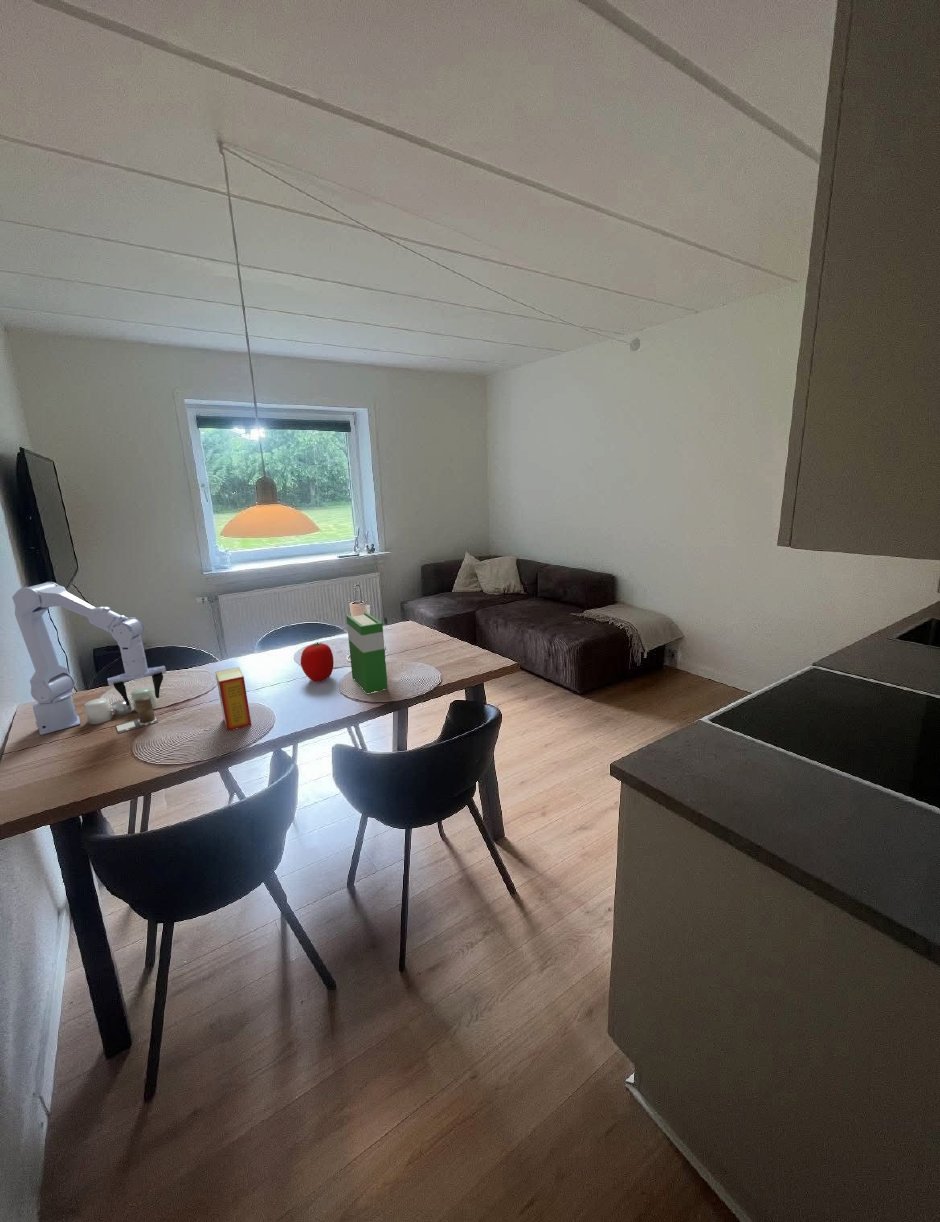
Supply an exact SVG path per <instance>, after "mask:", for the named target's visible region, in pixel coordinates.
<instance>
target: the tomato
mask: <svg viewBox="0 0 940 1222" xmlns="http://www.w3.org/2000/svg"><path fill="white" fill-rule="evenodd" d="M333 654H334V653H333V651H332V649H331V647H330V646H329V645H328V644H325V643H322V642H316V643H312V644H310V645H308V646H306V647H305V648H304V649H303V650H302V653H301V656H300V666H301V670H302V671H303V673H304V674H305V676H306V677H307V678H308V679H309V680H311V681H312V682H316V683H320V682H323V681H326V680H327V679H328V678H330V676H331V675H332V673H333V671H334V655H333Z"/></svg>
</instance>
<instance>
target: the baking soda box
mask: <svg viewBox="0 0 940 1222" xmlns="http://www.w3.org/2000/svg"><path fill="white" fill-rule="evenodd" d="M215 677H216V683H217V688H218V689H217V690H218V694H219V696H218V697H219V701H220V707H221V713H222V717H223V721H224V725H225V727H226V730H227V732H230V731H229V730H231V731H234V730H233V729H235V730H237V729H236V728H238V729H242V728H245V726H246V727H249V726H248V725H250V726H252V719H251V713H250V706H249V701H248V695H247V689H246V681H245V677H244V674H243V672H242V670H241V668H240V667H239V666H237V667H233V668H232V667H231V668H227V669H224V670H217V671H215Z"/></svg>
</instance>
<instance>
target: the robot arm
mask: <svg viewBox="0 0 940 1222" xmlns="http://www.w3.org/2000/svg"><path fill="white" fill-rule="evenodd" d="M12 600H13V603H14V616H15V619H16V622H17V624H18V628H19V630H20V632H21V635H22V637H23V642H24V643H25V647H26V649H27V652H28V654H29V657H30V659H31V662H32V666H33V668H34V673H33V674H32V676H31V678H30V680H29V683H30V695H31V697H32V698H33V700H35V701H36V702H35V703H32V709H33V713H34V717H35V724H36V728H38V731H39V735H41V736H43V735H46V734H50V733H53V732H57V731H61V730H64V729H68V728H72V727H75V726H79V725H81V720H80V715H79V714H77V712H76V708H75V703H74V699H73V696H72V694H73V689H74V688H75V686H76V681H75V679H74V676H72V674H70V672H69V670H68V668H67V667H65V666H62V665H59V661H58V658H57V656H56V652H55V650H54V647H53V644H52V642H51V638H50V636H49V633H48V630H47V627H46V624H45V622H44V619H43V615H44V614H45V613H46V612H47V610H48V609H49V608H53V607H61V608H64V609H66V610H68V611H71V612H73V613H75V614H77V615H81V616H83V617H86V618H87V620H88V622H89V624H91V625H93V626H95V627H97V628H99V629H101V630H104V631H106V632H108V633H110V634H111V636H112V638H113V639H114V640H115V641H116V642H117V646H118V647H119V650H120V654H121V655H120V656H121V660H122V664H123V669H124V673H121V674H118V675H115V676H112V677H108V678H107V683H108V686H109V687H112V686H113V687H114V689H115V690H116V691H117V692H118V693H119V694H120V696H121V697H122V698H123V700H125V702H126V705H127V706H129V705H130V704H129V700H130V699H129V698H128V694H127V693H128V692H127V687H126V685H125V683H126V682H131V681H136V680H141V679H144V678H148V677H151V678H152V684H153V691H154V697H156V698H155V699H159V698H160V691H161V685H162V682H163V680H164V675H163V674H167V670H166V666H165V665H161V666H154V667H148V662H147V658H146V653H145V648H144V647H145V646H144V644H143V643H144V642H143V639H142V634H143V633H144V631H145V626H144V624H143V622H142V621H141V619H138V618H137V617H135V616H134V617H127V616H125V615H121V614H120V613H117V612H115V611H113V610H111V607H109V606H98V607H96V606H93V605H92V604H90V603H89V602H87V601H84V600H83V599H81V598H79V597H77V596H76V595H74V594H72V593H71V592H69V591H67V589H66V587H64V586H62V585H59V584H58V583H56V582H53V581H46V582H43V583H39V584H36V585H32V586H26V587H21V588H19V589H18V590H17V591H16V592H15V593H14V594H13V595H12Z"/></svg>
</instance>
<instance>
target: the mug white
mask: <svg viewBox="0 0 940 1222" xmlns="http://www.w3.org/2000/svg"><path fill="white" fill-rule="evenodd" d="M84 709H85V712H86V718H87V720H88V724H90V725H100V724H102V723H106V722H108V721H110V720H112V719H113V714H112V709H111V705H110V701H109V698H107V697H106V698H105V697H101V698H95V699H92V700H89V701H87V702H85V704H84Z"/></svg>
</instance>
